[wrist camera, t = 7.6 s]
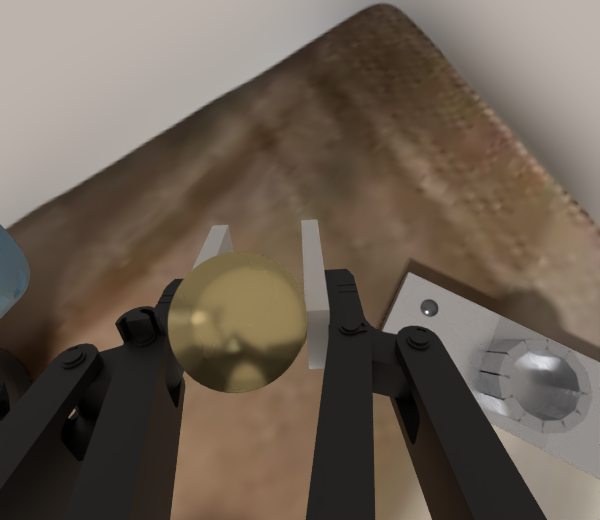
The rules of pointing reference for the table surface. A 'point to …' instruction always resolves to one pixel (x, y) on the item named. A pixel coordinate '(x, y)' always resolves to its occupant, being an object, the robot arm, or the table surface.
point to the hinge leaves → (511, 371)
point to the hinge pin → (237, 322)
